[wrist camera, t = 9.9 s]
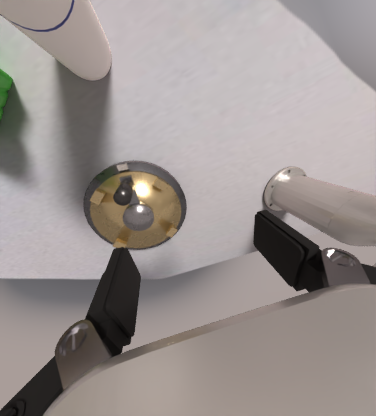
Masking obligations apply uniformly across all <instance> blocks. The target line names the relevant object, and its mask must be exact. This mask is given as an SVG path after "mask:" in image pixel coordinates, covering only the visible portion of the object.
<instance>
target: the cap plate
mask: <svg viewBox="0 0 376 416" xmlns="http://www.w3.org/2000/svg"><path fill="white" fill-rule="evenodd" d="M126 171H144V172H148V173H152V174H154V175H157V176H159V177H161V178H162V179H164V180H165V181H166V182H168V183H169V184H170V185H171V186H172V188H173V189H174V190H175V192H176V194H177V196H178V198H179V201H180V205H181V217H180V221H179V224H178V226H177V232H178V230H179V229H180V227H181V226H182V224H183V222H184V219H185V215H186V199H185V196H184V193H183V191H182V189H181V187H180V185H179V183H178V182H177V181H176V179H175V178H174V177H173V176H172V175H171V174H170V173H169V172H167V171H166V170H164V169H163V168H161V167H159V166H157V165H155V164H152V163H148V162H143V161H125V162H120V163H117V164H114V165H112V166H110V167H108V168H106V169H105V170H103V171H102V172H101V173H100V174H98V175H97V176H96V177H95V178H94V179H93V180H92V182H91V183H90V185H89V186H88V188H87V190H86V193H85V197H84V212H85V216H86V219H87V221H88V223H89V225H90V226H91V228H92V229H93V230H94V231H95V233H96V234H98V235H99V236H100V237H101V238H102V239H104V240H105V241H107V242H109V243H111V244H114V243H113V242H111V241H109V240H108V239H106V238H105V237H104V236H103V235H101V234H100V232H99V231H98V230H97V229H96V227H95V226H94V224H93V221H92V218H91V214H90V204H91V201H90V199H91V197H92V195H93V193H94V192H95V190H96V189H98V188H99V186H100V185H101V184H102V183H103V182H104V181H106V180H107V179H108V178H110V177H112V176H113V175H116V174H118V173H122V172H126ZM177 232H176V233H177ZM176 233H175V234H176ZM175 234H174V235H175ZM174 235H173V236H174ZM170 238H171V237H168V238H167V239H165V240H164V241H162V242H160V243H158V244H156V245H153V246H150V247H145V248H128V247H125V248H127V249H146V248H151V247H155V246H158V245H160V244H162V243H164V242H166V241H167V240H169V239H170Z"/></svg>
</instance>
